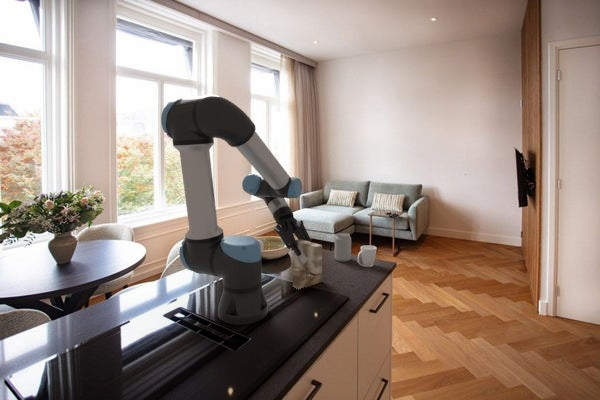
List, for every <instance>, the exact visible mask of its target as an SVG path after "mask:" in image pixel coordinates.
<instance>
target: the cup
mask: <svg viewBox="0 0 600 400" xmlns="http://www.w3.org/2000/svg"><path fill="white" fill-rule="evenodd" d="M377 250H378V247H377V246H375V245H369V244H368V245H367V244H366V245H362V246H360V251H359V252H358V254H357V259H356V260H357V263H358V265H360V266H362V267H363V268H364V267H366V268H371V267H373V266H374V263H375V260H376V253H377ZM360 256H361V260H362V263H361V262H360Z"/></svg>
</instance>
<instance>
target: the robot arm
mask: <svg viewBox="0 0 600 400" xmlns="http://www.w3.org/2000/svg"><path fill="white" fill-rule="evenodd" d="M160 121H161V124H160V125H161V127H162V129H163V131H164V133H165V134H166V136H167V137H168V138H170V139H172V147H173V148H175V149H176V150H177V151H178V152H179V160H180V166H181V172H182V174H181V175H182V181H183V183H182V184H183V190H184V196H185V197H184V198H185V199H184V200H185V205H186V213H187V222H188V231H187V232H186V233H185V234H184V235H185V237H184V239H182V241H181V246H180V247H179V253H178V254H179V259H180V261H181V264H182V265H183V266H184V268H185V269H186V270H188V271H191V272H193V273H196V274H201V275H202V274H203V275H208V276H212V277H218V278H222V294H221V296H220V299H219V303H218V306H217V315H218V316H217V317H218V318H219V320H220V321H221V322H223V323H226V324H230V325H236V326H237V325H249V324H253V323H256V322H259V321H260V320H263V319H265V318H266V317H267V316H268V313H269V303H268V300H267V298H266V295H265V292H264V290H263V284H262V280H263V279H262V277H263V275H262V269H263V268H262V257H263V253H262V252H261V246H260V243H259V242H258V240H259V239H257V238H255V237H252V236H250V235H246V234H245V235H243V234H230V235H226V236H224V229H223V228H221V227H220V226H219V225H218V219H217V218H218V215H217V207H216V200H215V199H216V197H215V189H214V180H213V173H212V172H213V171H212V170H213V169H212V163H211V161H212V160H211V153H210V151H211V148H212V147H213V145H215V141H214V138H215V139H221V140H223V141H224V142H226V143H227V145H228V146H230V147H231V148H236V149H237V150H238V151H239V152H240V155H242V156H243V157H244V158H245V159H246V160H247V162H248V163H249V164H250V165H251V166H252V167H253V168H254V169H255V171H256V172H257V173H258V174H259V175H257V174H254V173H249V174H247V175H246V176H244V178H243V180H242V183H241V187H242V189H243V191H244V192H245V193H247V194H248V195H250V196H253V197H256V198H259V199H261V200H262V201H264V203H265V205H266V206H267V208H268V211H269V212H270V214H271V215H272V217H273V219H274V220H275V223H276V226H274V231H275V232H276V233H277V234H278V236H279V237H280V238H281V240H282V242H283V244H284V245H285V247H286V248H287V249H288V250H291V251H292V252H294V251H295V253H296V255H297V256H299V258H300V260H301V261H302V263H303V264H305V263H306V262H307V261H308V259H307V257H306V255H305V254H304V252H303V250H302V248H301V247H300V245H299V246H298V247H297V242H296V240H298V239H302V240H305V241H309V242H311V241H312V239H311V237H310V235H309V232H308V231H307V229H306V226H305V225H304V220H299V221H298V220H297V218H295V217H294V213H293V210H292V209H291V207H290V206H289V204H288V202H287V200H286V199H298V198H299V197H300V196H301V195H302V191H303V182H302V180H301V179H300V178H298V177H294V176H293V177H291V176H290V175H289V174H288V172H287V171H286V169H285V168H284V167H283V166H282V165H281V163H280V161H279V160H278V159H277V157H275V155H274V154H273V152H272V150H270V148H269V147H268V146H267V145H266V143H265V142H264V141H263V139H262V138H261V137H260V136H259V134H258V133H257V132H256V129H257V128H256V125H255V123H254V122H253V120H252V119H251V118H250V117H249V116H248V114H247V113H246V112H245V111H244V110H242V109H241V107H239V106H238V105H236V104H235V103H233V102H232V101H230V100H229V99H227V98H225V97H223V96H220V95H215V94H206V95H202V96H201V95H200V96H188V97H186V96H185V97H180V98H177V99H174V100H170V101H169V102H168V103H167V104H166V105H165V107H164V108H163V109H162V112H161V115H160ZM295 237H296V238H297V239H296V238H295Z"/></svg>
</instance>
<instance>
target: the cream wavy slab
mask: <svg viewBox="0 0 600 400" xmlns="http://www.w3.org/2000/svg"><path fill="white" fill-rule="evenodd" d="M295 240H296V242H297V247H298V246H299V245H300V247H301V248H302V250H303V252H304V254H305V255H306V257H307V259H308V261H307V262H306V263H305V264H303V263H302V261H301V260H300V258H299V256H297V255H296V253H295V251H294V250H293V255H294V256H293V259H294V261H293V266H294V267H295V268H298V267H302V268H305V269H306V272H312V273H314V274H318V273H321V272H322V273H323V245H322V244H319V243H316V242H311V241H310V242H309V241H305V240H302V239H298V238H297V239H295Z"/></svg>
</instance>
